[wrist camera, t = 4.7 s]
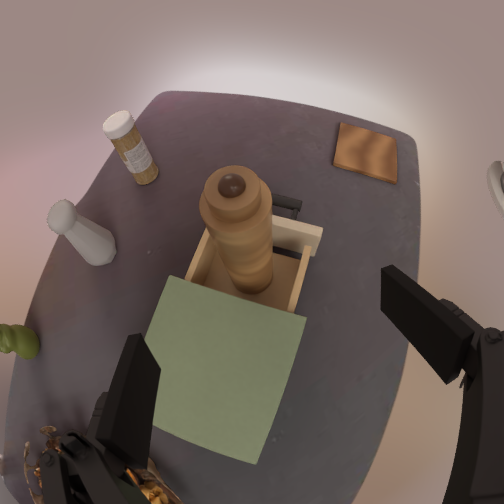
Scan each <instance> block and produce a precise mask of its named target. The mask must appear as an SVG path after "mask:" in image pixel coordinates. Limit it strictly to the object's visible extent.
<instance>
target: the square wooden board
mask: <svg viewBox="0 0 504 504" xmlns="http://www.w3.org/2000/svg"><path fill="white" fill-rule="evenodd" d="M333 166H336V167H339V168H343V169H347V170H350V171H354V172H357V173H361V174H364V175H367V176H371V177H374V178H377V179H380V180H383V181H386V182H389V183H392V184H396V183H397V151H396V139H394V138H391V137H388V136H385V135H382V134H379V133H376V132H373V131H370V130H366V129H363V128H359V127H356V126H352V125H349V124H345V123H341V124H340V129H339V135H338V141H337V146H336V152H335V157H334V162H333Z"/></svg>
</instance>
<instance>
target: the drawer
mask: <svg viewBox="0 0 504 504" xmlns="http://www.w3.org/2000/svg"><path fill="white" fill-rule="evenodd" d="M271 196H272V205H275V206H279V207H283V208H287V209H291V210H293V212H292V216H291V219H287V218H283V217H279V216H275V215H272V235H273V246H276V247H280V248H283V249H287V250H291V251H295V252H298V253H302V258H301V260H298V259H295V258H291V257H288V256H284V255H280V254H277V253H273V277H272V281H271V283H270V285H269V286H268V288H267V289H265V290H264V291H263V292H261V293H258V294H252V295H250V294H245V293H242V292H241V291H239V290H238V289H237V288H236V287H235V286H234V284H233V282H232V280H231V278H230V276H229V274H228V272H227V270H226V268H225V266H224V264H223V261H222V259H221V257H220V255H219V253H218V251H217V249H216V247H215V245H214V242H213V240H212V238H211V236H210V234H209V232H208V230H207V228H206V229H205V231H204V233H203V236H202V238H201V240H200V243H199V245H198V247H197V250H196V252H195V254H194V257H193V259H192V262H191V264H190V267H189V269H188V271H187V274H186V276H185V279H184V280H187V281H189V282H192V283H195V284H198V285H201V286H205V287H208V288H211V289H214V290H217V291H220V292H223V293H226V294H229V295H233V296H236V297H239V298H242V299H245V300H249V301H252V302H255V303H259V304H262V305H265V306H269V307H272V308H276V309H279V310H283V311H286V312H290V313H293V314H294V311H295V308H296V304H297V301H298V297H299V294H300V290H301V287H302V283H303V279H304V276H305V272H306V268H307V265H308V261H309V257H310V256H313V257H314V256H315V253H316V250H317V247H318V244H319V242H320V239H321V235H322V231H323V228H321V227H318V226H314V225H310V224H306V223H303V222H299V221H295V220H296V217H297V213H298V211H299V212H300V209H301V206H302V201H300V200H296V199H292V198H288V197H284V196H280V195H276V194H271Z"/></svg>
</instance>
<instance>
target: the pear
mask: <svg viewBox="0 0 504 504" xmlns="http://www.w3.org/2000/svg"><path fill="white" fill-rule="evenodd" d="M39 347H40V344H39V339H38V337H37V335H36V334H35V332H34V331H33V330H31V329H30V328H28V327H25V326H22V325H11V326H9V325H7V324H0V352H3V353H10V352H11V351H14V352H16V353H17V354H18V355H19V356H20V357H22V358H24V359H32V358H34V357H35V356H36V355H37V354H38V352H39Z"/></svg>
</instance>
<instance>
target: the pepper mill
mask: <svg viewBox="0 0 504 504" xmlns="http://www.w3.org/2000/svg"><path fill="white" fill-rule="evenodd" d="M199 210H200V214H201V217H202V219H203V221H204V223H205V225H206V228H207V230H208V232H209V234H210V236H211V238H212V240H213V242H214V245H215V247H216V249H217V251H218V253H219V255H220V257H221V259H222V261H223V264H224V266H225V268H226V270H227V272H228V274H229V276H230V278H231V280H232V282H233V284H234V286H235V287H236V288H237V289H238V290H239V291H241V292H242V293H245V294H250V295H252V294H258V293H261V292H263V291H264V290H265V289H267V288H268V286H269V285H270V283H271V281H272V277H273V235H272V196H271V192H270V190H269V188H268V186H267V185H266V184H265V183H264V182H263V181H262V180H261V179H260V178H258V176H257V175H256V174H255V173H254V172H253V171H252V170H250V169H249V168H246V167H243V166H238V165H232V166H226V167H223V168H221V169H219V170H217V171H215V172H214V173H213V174H212V175H211V176H210V177H209V178H208V179H207V181H206V183H205V186H204V191H203V193H202V195H201V197H200V201H199Z"/></svg>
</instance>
